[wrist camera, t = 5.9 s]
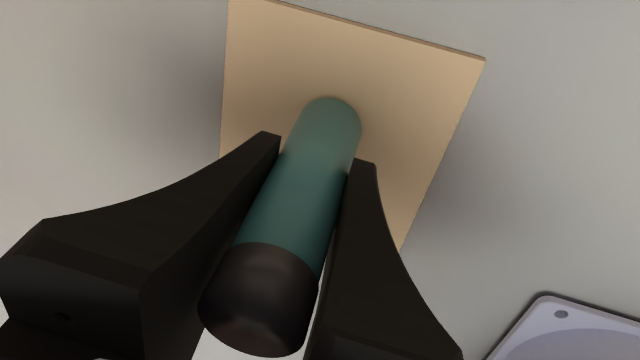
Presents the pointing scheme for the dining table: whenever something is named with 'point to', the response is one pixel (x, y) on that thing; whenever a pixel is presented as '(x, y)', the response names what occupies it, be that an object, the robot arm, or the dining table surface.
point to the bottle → (284, 238)
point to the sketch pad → (347, 91)
